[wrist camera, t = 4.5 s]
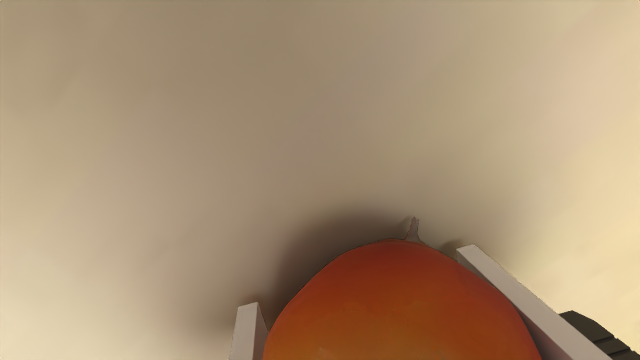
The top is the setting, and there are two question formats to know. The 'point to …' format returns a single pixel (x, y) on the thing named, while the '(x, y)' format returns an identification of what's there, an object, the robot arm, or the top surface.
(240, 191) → the top surface
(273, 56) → the top surface
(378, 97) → the top surface
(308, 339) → the fruit
